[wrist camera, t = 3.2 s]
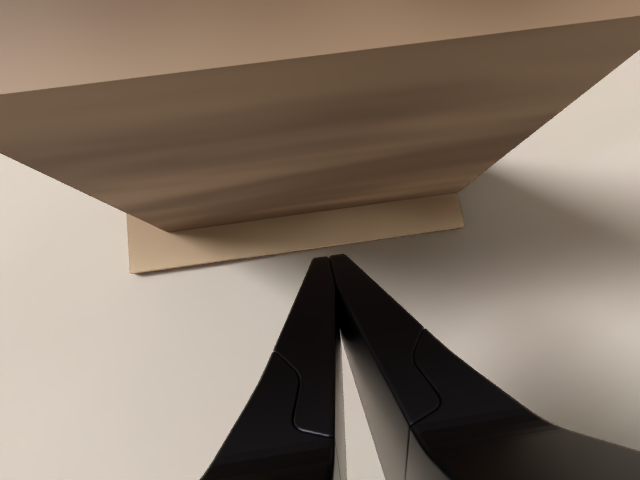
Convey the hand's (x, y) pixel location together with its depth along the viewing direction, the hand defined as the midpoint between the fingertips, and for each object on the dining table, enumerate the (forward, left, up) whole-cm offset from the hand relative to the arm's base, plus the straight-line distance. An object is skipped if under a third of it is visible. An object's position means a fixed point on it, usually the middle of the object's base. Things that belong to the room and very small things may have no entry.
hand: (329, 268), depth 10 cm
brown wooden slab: (+4, -2, -9) cm, 10 cm away
